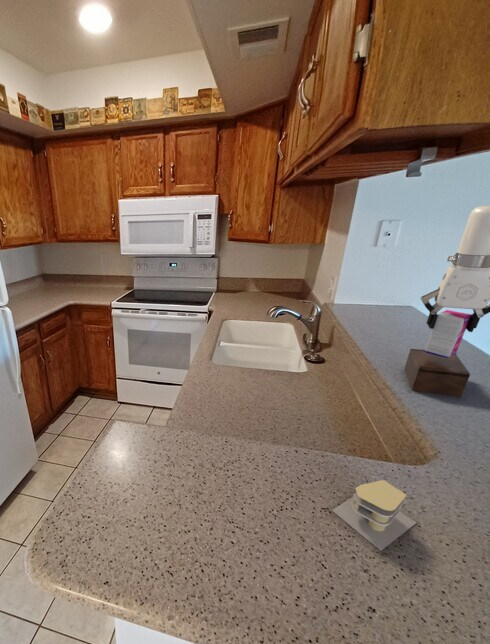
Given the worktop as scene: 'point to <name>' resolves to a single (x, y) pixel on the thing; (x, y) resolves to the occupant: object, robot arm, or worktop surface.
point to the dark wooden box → (436, 373)
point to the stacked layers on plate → (376, 513)
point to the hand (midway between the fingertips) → (449, 328)
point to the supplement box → (447, 333)
